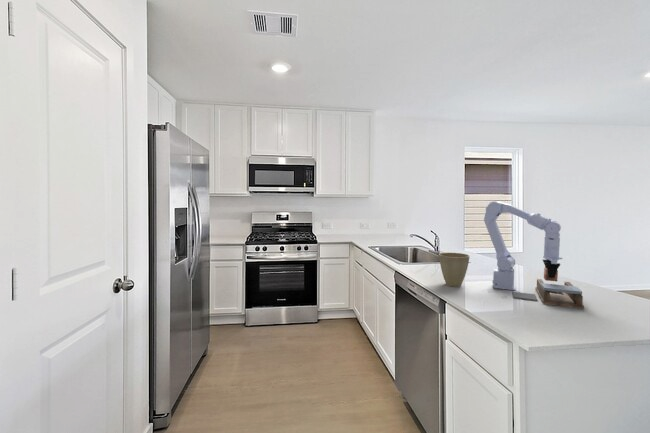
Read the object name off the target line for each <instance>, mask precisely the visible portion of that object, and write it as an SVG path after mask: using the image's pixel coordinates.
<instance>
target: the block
mask: <svg viewBox="0 0 650 433" xmlns="http://www.w3.org/2000/svg"><path fill="white" fill-rule="evenodd" d="M543 268H544V269H543V279H544V280H545V281H550V282H558V274H559V271H558V269H557V272H556V275H555V278H549V276H548V270H547V268H545V267H543Z"/></svg>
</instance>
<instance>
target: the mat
mask: <svg viewBox="0 0 650 433" xmlns="http://www.w3.org/2000/svg"><path fill="white" fill-rule="evenodd" d="M511 293H512V298H513V299H514V300H515V299H517V300H525V301H533V302H534V301H535V302H538V298H537V296H536V294H535V293H528V292H518V291H512V292H511Z"/></svg>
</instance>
